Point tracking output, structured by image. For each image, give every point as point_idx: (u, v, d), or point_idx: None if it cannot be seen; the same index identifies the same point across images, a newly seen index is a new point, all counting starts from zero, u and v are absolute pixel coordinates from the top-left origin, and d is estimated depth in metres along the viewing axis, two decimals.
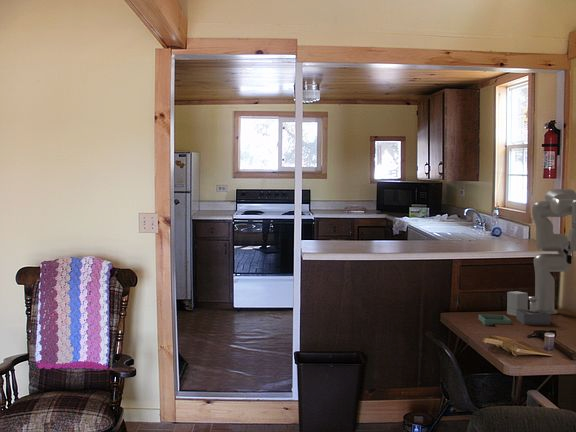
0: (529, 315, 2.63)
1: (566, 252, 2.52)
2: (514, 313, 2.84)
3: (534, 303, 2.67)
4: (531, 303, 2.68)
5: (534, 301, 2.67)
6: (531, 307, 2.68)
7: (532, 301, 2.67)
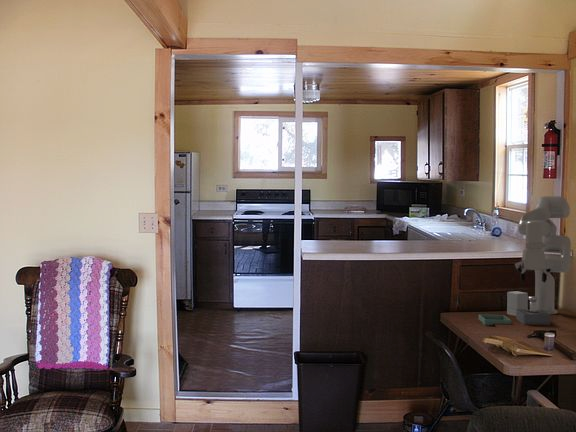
0: (529, 315, 2.63)
1: (520, 270, 2.68)
2: (514, 313, 2.84)
3: (534, 303, 2.67)
4: (531, 303, 2.68)
5: (534, 301, 2.67)
6: (531, 307, 2.68)
7: (532, 301, 2.67)
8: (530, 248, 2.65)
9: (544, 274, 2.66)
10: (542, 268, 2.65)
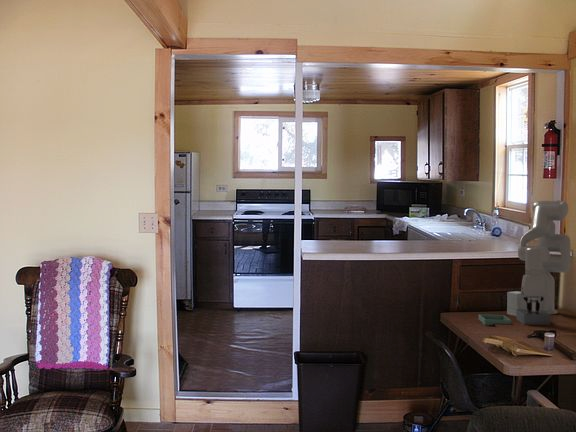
0: (529, 315, 2.63)
1: (526, 300, 2.68)
2: (514, 313, 2.84)
3: (534, 303, 2.67)
4: (531, 303, 2.68)
5: (534, 301, 2.67)
6: (531, 307, 2.68)
7: (532, 301, 2.67)
8: (530, 275, 2.66)
9: (537, 303, 2.67)
10: (542, 295, 2.66)
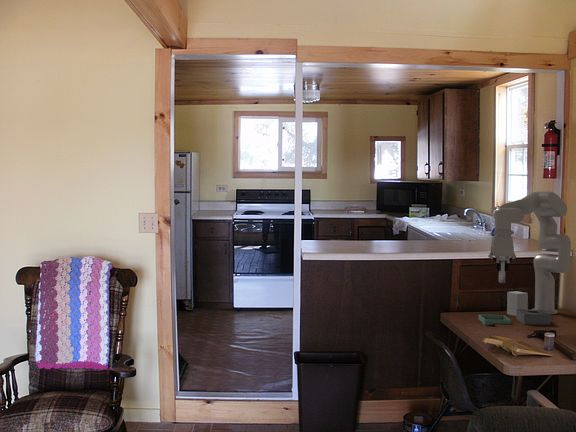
0: (529, 315, 2.63)
1: (495, 260, 2.69)
2: (514, 313, 2.84)
3: (503, 263, 2.68)
4: (500, 263, 2.69)
5: (503, 261, 2.68)
6: (500, 267, 2.69)
7: (501, 261, 2.69)
8: (499, 235, 2.67)
9: (506, 263, 2.68)
10: (510, 255, 2.67)
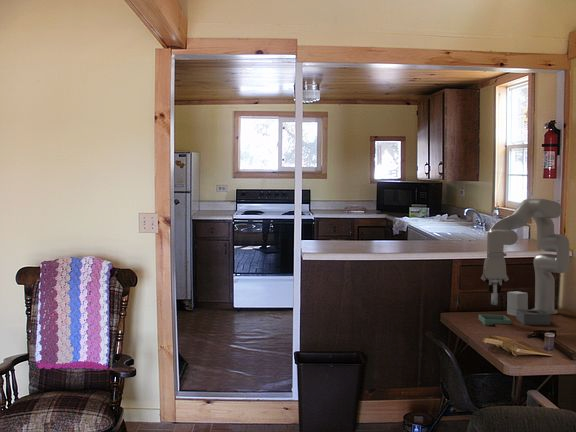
0: (529, 315, 2.63)
1: (487, 282, 2.70)
2: (514, 313, 2.84)
3: (495, 285, 2.69)
4: (492, 285, 2.70)
5: (495, 283, 2.69)
6: (492, 289, 2.70)
7: (493, 283, 2.69)
8: (491, 257, 2.68)
9: (498, 285, 2.69)
10: (503, 277, 2.68)
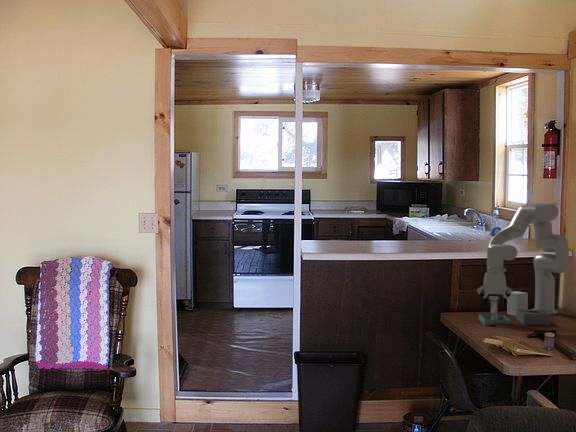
0: (529, 315, 2.63)
1: (482, 295, 2.71)
2: (514, 313, 2.84)
3: (495, 303, 2.69)
4: (492, 303, 2.70)
5: (495, 301, 2.69)
6: (492, 307, 2.70)
7: (493, 301, 2.70)
8: (491, 273, 2.68)
9: (504, 299, 2.69)
10: (503, 292, 2.68)
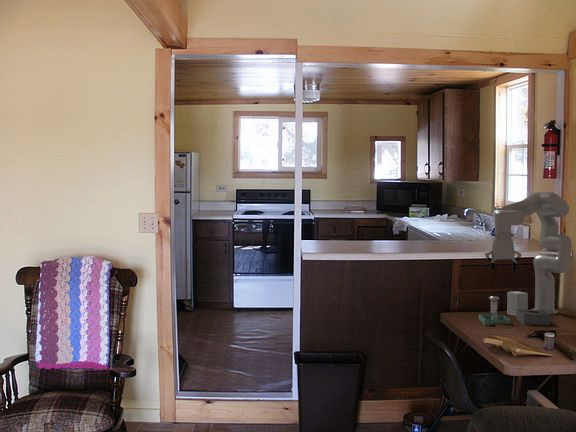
0: (529, 315, 2.63)
1: (490, 260, 2.73)
2: (514, 313, 2.84)
3: (495, 303, 2.69)
4: (492, 303, 2.70)
5: (495, 301, 2.69)
6: (492, 307, 2.70)
7: (493, 301, 2.70)
8: (499, 238, 2.70)
9: (513, 263, 2.71)
10: (511, 257, 2.70)
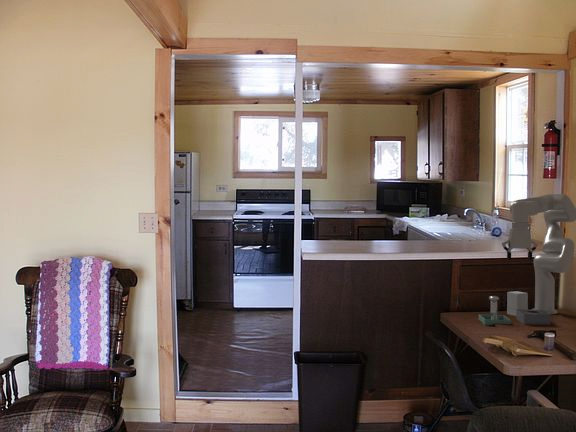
0: (529, 315, 2.63)
1: (506, 249, 2.77)
2: (514, 313, 2.84)
3: (495, 303, 2.69)
4: (492, 303, 2.70)
5: (494, 301, 2.69)
6: (492, 307, 2.70)
7: (493, 301, 2.70)
8: (516, 227, 2.74)
9: (530, 252, 2.75)
10: (528, 246, 2.75)
